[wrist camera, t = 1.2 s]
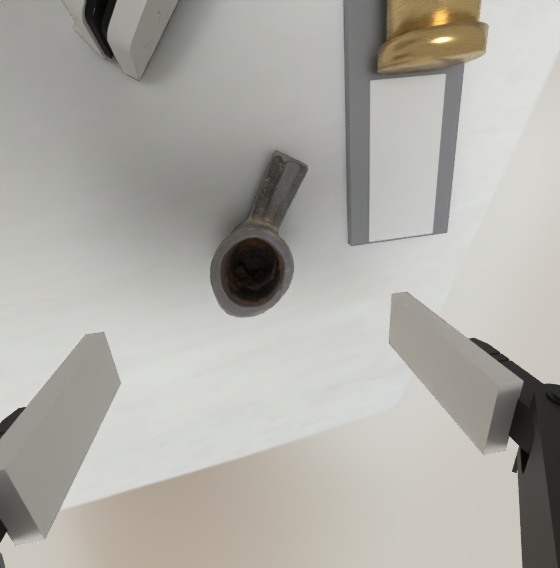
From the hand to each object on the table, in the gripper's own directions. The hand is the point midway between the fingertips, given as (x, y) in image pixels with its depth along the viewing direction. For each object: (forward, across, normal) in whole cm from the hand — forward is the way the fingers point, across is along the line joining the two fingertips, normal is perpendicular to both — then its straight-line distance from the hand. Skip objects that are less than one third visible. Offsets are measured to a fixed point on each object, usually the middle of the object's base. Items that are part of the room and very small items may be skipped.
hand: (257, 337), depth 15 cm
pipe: (+18, +2, +2) cm, 18 cm away
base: (+17, +15, +10) cm, 25 cm away
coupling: (+17, +15, +18) cm, 29 cm away
